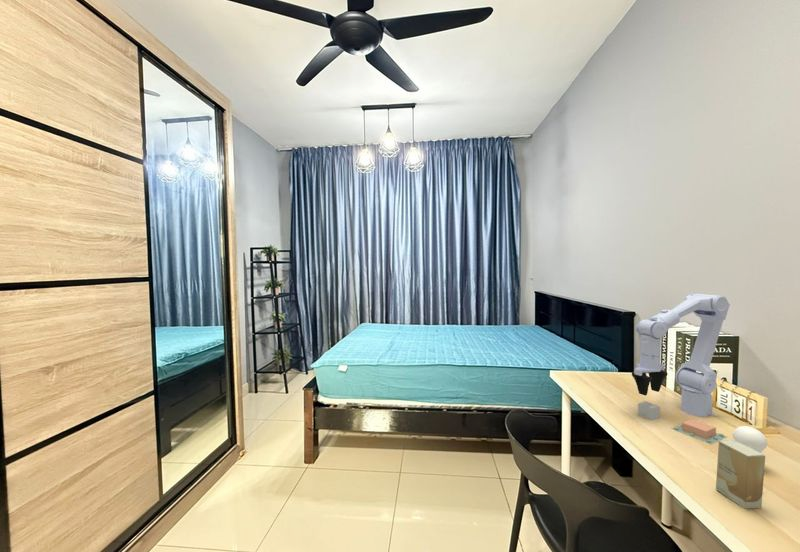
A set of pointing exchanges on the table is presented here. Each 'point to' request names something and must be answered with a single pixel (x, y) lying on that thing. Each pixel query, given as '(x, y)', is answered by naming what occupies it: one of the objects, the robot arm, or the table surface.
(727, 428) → the table surface
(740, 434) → the lightbulb
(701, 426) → the base brick
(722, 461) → the skincare box
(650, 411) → the grey brick
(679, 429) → the build plate
